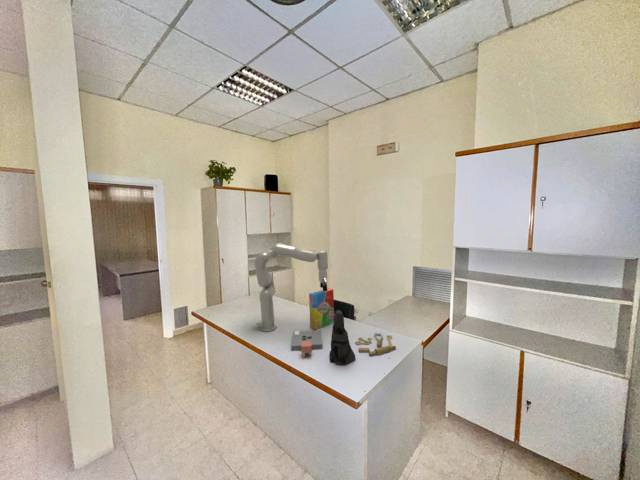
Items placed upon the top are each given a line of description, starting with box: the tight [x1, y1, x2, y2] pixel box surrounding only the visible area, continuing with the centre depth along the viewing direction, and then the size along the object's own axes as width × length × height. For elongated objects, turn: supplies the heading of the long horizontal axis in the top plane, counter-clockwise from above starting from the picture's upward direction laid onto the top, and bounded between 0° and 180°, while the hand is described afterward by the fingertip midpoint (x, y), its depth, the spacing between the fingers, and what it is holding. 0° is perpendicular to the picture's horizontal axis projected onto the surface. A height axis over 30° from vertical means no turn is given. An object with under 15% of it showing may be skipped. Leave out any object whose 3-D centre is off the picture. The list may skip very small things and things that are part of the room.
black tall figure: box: [328, 309, 357, 366], centre depth 149 cm, size 14×14×30 cm
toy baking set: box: [354, 332, 397, 356], centre depth 167 cm, size 33×25×4 cm
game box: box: [308, 287, 335, 331], centre depth 197 cm, size 21×6×27 cm, turn 129°
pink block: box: [301, 341, 313, 358], centre depth 157 cm, size 6×6×7 cm
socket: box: [290, 329, 324, 351], centre depth 173 cm, size 20×20×4 cm
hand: (323, 289), depth 192 cm, fingers open, 9 cm apart
